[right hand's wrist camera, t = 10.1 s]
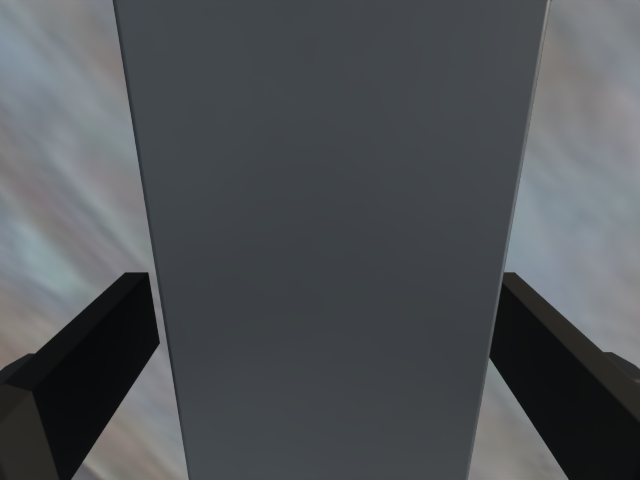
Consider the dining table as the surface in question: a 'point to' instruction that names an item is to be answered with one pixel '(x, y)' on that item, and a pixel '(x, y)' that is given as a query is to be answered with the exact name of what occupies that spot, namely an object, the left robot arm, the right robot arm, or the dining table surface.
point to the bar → (330, 222)
